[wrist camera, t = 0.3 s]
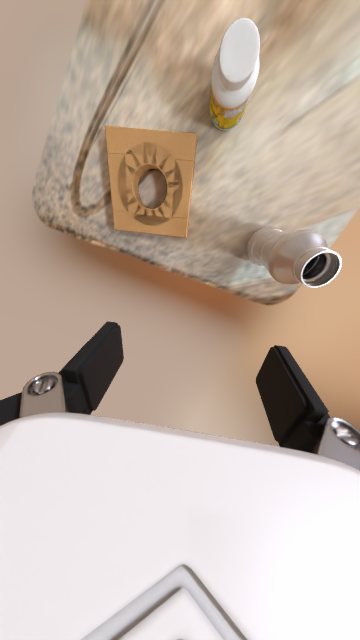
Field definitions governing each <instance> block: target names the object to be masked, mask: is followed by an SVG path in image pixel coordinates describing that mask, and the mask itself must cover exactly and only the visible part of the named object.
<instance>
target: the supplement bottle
mask: <svg viewBox="0 0 360 640" xmlns="http://www.w3.org/2000/svg"><path fill="white" fill-rule="evenodd" d="M259 49H260V38H259V32H258V29H257V27H256V25H255V24H254V23H253V22H252V21H251V20H250V19H247V18H241V19H238V20H236V21H235V22H233V23H232V24H231V25H230V27H229V28H228V29H227V31H226V32H225V35H224V37H223V39H222V42H221V46H220V48H219V50H218V52H217V54H216V56H215V59H214V63H213V67H212V74H211V90H210V116H211V119H212V121H213V123H214V124H215V126H216V127H217V128H218V129H220V130H223V131H227V130H230V129H232V128H234V127H235V126H236V125H237V124H238V123H239V122H240V120H241V119H242V117H243V115H244V112H245V110H246V107H247V105H248V102H249V99H250V97H251V94H252V92H253V89H254V86H255V84H256V80H257V77H258V72H259Z"/></svg>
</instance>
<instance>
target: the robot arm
mask: <svg viewBox="0 0 360 640" xmlns="http://www.w3.org/2000/svg"><path fill="white" fill-rule="evenodd" d="M123 358H124V357H123V348H122V338H121V328H120V326H119V325H118V324H117V323H115V322H106V324H104V325H103V326H102V328H101V329H100V330H99V331H98V332H97V333H96V334H95V335H94V336H93V337H92V338H91V339H90V340H89V341H88V342H87V343H86V344H85V345H84V346H83V347H82V348H81V349H80V350H79V351H78V353H77V354H76V355H75V356H74V357H73V358H72V359H71V360H70V361H69V362H68V363H67V364H66V365H65V367H64V368H63V369H62V370H61V371H60V372H59V373H55V372H47V373H43V374H40V375H38V376H36V377H34V378H33V379H31V380H30V381H29V382H27V384H26V385H25V386H24V388H23V391H22V392H21V393H18V394H16V395H13V396H11V397H8V398H5V399H3V400H0V640H360V430H358V429H357V428H356V427H355V426H354V425H352V424H351V423H349V422H348V421H346V420H344V419H341V418H338V417H330V416H329V415H328V410H327V408H326V407H325V405H324V403H323V402H322V400H321V399H320V397H319V396H318V394H317V393H316V391H315V390H314V388H313V387H312V385H311V384H310V382H309V381H308V379H307V378H306V376H305V375H304V373H303V372H302V370H301V369H300V367H299V366H298V364H297V362H296V361H295V359H294V358H293V356H292V355H291V353H290V352H289V350H288V349H287V348H286V347H283V346H276V345H275V346H274V347H271V348H270V350H269V352H268V354H267V356H266V358H265V360H264V362H263V365H262V367H261V369H260V371H259V373H258V375H257V377H256V384H257V387H258V390H259V393H260V396H261V399H262V402H263V405H264V408H265V411H266V414H267V417H268V420H269V423H270V426H271V429H272V432H273V435H274V438H275V440H276V441H278V443H279V445H280V447H278V446H272V445H267V444H262V443H256V442H249V441H244V440H239V439H233V438H227V437H222V436H216V435H210V434H204V433H198V432H192V431H187V430H181V429H175V428H169V427H163V426H157V425H151V424H145V423H139V422H133V421H126V420H120V419H114V418H108V417H101V416H94V415H90V414H91V412H92V411H93V410H96V409H97V407H98V405H99V403H100V401H101V400H102V398H103V396H104V394H105V392H106V391H107V389H108V387H109V385H110V384H111V382H112V380H113V378H114V377H115V375H116V373H117V371H118V369H119V367H120V366H121V364H122V362H123Z"/></svg>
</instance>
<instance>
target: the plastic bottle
mask: <svg viewBox="0 0 360 640" xmlns="http://www.w3.org/2000/svg"><path fill="white" fill-rule="evenodd" d="M247 254H248V257H249V259H250V260H251V261H252V262H253V263H254V264H257V265H262V266H265V267H266V268H267V270H268V271H269V273H270V275H271V276H272V277H273V278H274V279H275V280H276V281H278V282H280V283H283V284H298V283H301V284H304V285H305V286H308V287H321V286H323V285H325V284H327V283H329V282H330V281H332V280H333V279H334V278H335V277H336V275H337V274H338V273H339V271H340V268H341V265H342V260H341V257H340V256H339V254H337V253H336V252H334V251H332V250H329V249H328V248H327V244H326V241H325V240H324V238H323V237H322V236H321V235H320V234H318V233H317V232H315V231H313V230H297V231H292V232H283V231H281V230H280V229H278V228H276V227H272V226H269V227H264V228H262V229H260V230H258V231H256V232H255V233H254V234H253V235H252V236H251V238H250V239H249V241H248V244H247Z"/></svg>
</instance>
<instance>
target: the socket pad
mask: <svg viewBox="0 0 360 640" xmlns="http://www.w3.org/2000/svg"><path fill="white" fill-rule="evenodd" d="M105 134H106V144H107V156H108V167H109V177H110V188H111V199H112V209H113V219H114V229H115V230H124V231H132V232H141V233H150V234H158V235H167V236H176V237H185V238H186V237H187V232H188V222H189V213H190V203H191V193H192V184H193V174H194V164H195V155H196V145H197V137H196V133H185V132H173V131H161V130H149V129H137V128H126V127H114V126H105ZM149 169H158V170H159V171H161V172H162V173H163V174H164V176H165V178H166V182H167V195H166V198H165V200H164V202H163V203H162V204H161V205H160V206H159V207H157V208H155V209H149V208H148V207H146V206H145V205H144V204H143V202H142V201H141V199H140V196H139V194H138V183H139V180H140V177H141V176H142V174H143V173H144V172H145V171H147V170H149Z"/></svg>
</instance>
